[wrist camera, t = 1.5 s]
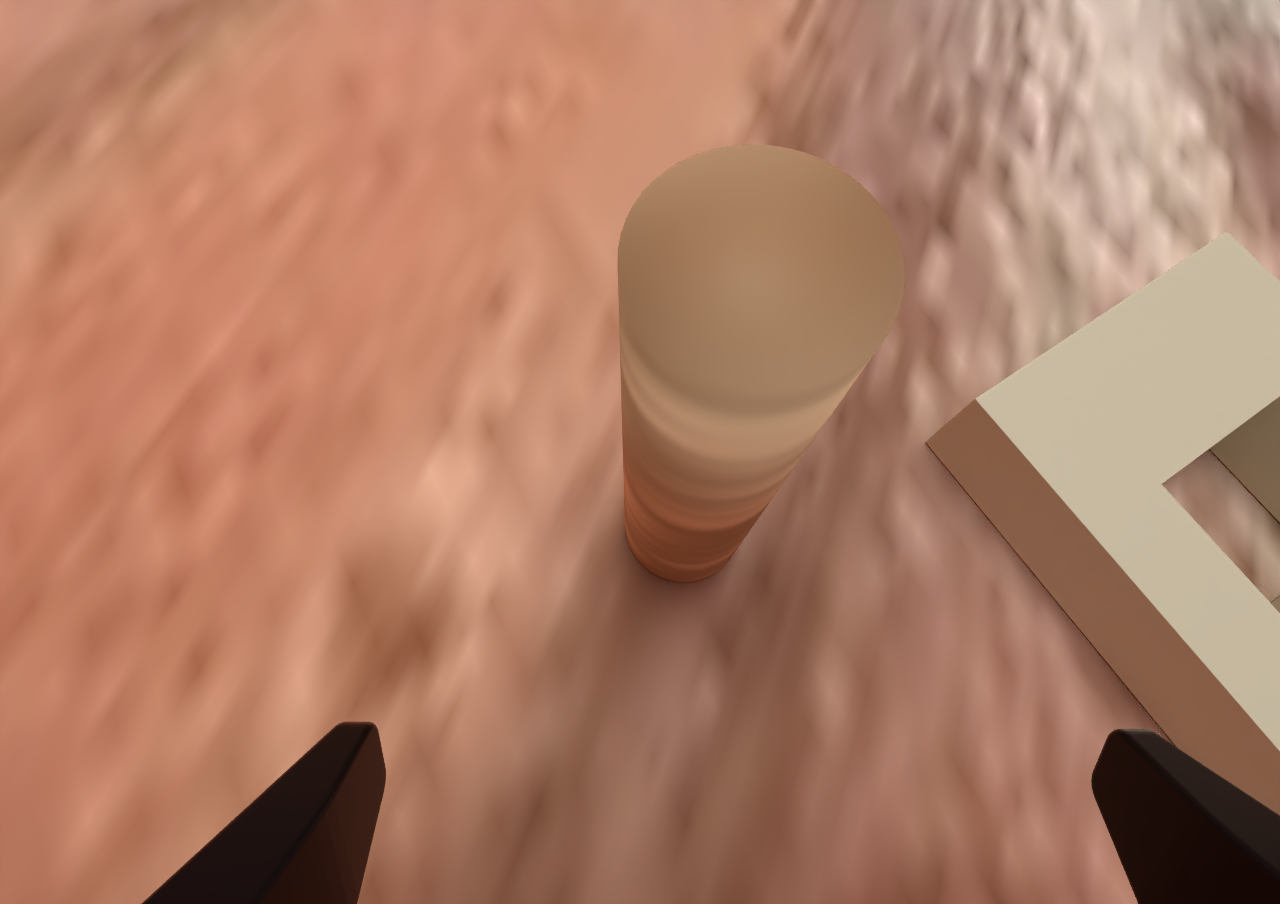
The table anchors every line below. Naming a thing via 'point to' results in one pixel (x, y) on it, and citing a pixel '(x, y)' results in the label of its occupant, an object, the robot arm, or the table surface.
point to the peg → (739, 338)
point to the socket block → (1150, 497)
